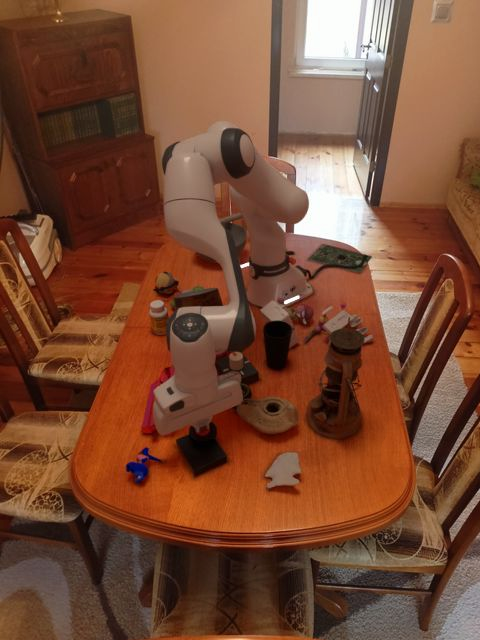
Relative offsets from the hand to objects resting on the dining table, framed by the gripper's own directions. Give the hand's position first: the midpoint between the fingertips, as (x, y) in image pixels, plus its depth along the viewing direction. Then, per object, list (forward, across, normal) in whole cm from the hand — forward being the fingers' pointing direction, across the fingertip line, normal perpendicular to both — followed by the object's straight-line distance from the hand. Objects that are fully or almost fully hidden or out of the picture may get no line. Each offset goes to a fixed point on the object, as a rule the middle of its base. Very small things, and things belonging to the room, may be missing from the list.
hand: (201, 428), depth 110 cm
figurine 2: (+1, -35, -29) cm, 45 cm away
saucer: (+4, -16, -30) cm, 34 cm away
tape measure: (+5, -13, -7) cm, 15 cm away
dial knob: (+1, -18, -17) cm, 24 cm away
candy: (+4, -52, -20) cm, 55 cm away
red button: (+2, 0, 0) cm, 2 cm away
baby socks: (+2, -57, -14) cm, 59 cm away
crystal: (+5, +3, -16) cm, 17 cm away
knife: (+3, -66, -72) cm, 98 cm away
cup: (+4, -29, -15) cm, 33 cm away
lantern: (+4, -31, +10) cm, 32 cm away
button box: (+4, +2, +3) cm, 6 cm away
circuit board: (+4, -81, -53) cm, 97 cm away
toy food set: (+4, -20, -52) cm, 57 cm away
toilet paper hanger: (-5, -48, -76) cm, 90 cm away
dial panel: (+4, -18, -16) cm, 25 cm away
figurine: (+2, +12, -2) cm, 12 cm away
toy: (+3, -21, -69) cm, 72 cm away
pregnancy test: (+1, -52, -18) cm, 55 cm away
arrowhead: (+2, -8, +21) cm, 22 cm away
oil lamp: (+4, -16, +3) cm, 16 cm away
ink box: (+4, -38, -23) cm, 44 cm away
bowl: (+4, -42, -76) cm, 87 cm away
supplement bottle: (+4, -7, -46) cm, 46 cm away
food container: (-9, -18, -41) cm, 45 cm away
